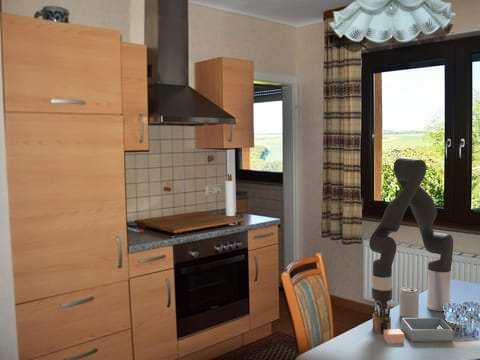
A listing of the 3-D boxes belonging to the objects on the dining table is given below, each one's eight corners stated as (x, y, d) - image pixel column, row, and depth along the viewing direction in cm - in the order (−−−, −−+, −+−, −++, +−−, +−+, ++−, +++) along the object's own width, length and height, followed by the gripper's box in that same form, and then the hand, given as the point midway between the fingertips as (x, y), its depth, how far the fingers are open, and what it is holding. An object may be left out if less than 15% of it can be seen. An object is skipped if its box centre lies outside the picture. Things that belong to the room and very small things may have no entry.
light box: (383, 338, 180) (383, 329, 180) (399, 338, 180) (399, 329, 180) (388, 343, 176) (388, 334, 175) (404, 343, 176) (404, 334, 176)
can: (419, 320, 197) (420, 292, 196) (400, 319, 198) (401, 291, 197) (416, 314, 204) (417, 286, 203) (398, 313, 205) (398, 285, 204)
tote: (401, 329, 188) (401, 317, 188) (440, 329, 188) (440, 317, 187) (411, 342, 176) (411, 330, 176) (453, 342, 176) (453, 330, 176)
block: (372, 327, 190) (372, 312, 190) (386, 327, 190) (386, 312, 190) (376, 333, 185) (376, 318, 184) (390, 333, 185) (390, 318, 184)
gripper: (397, 292, 179) (396, 336, 180) (386, 281, 193) (386, 321, 195) (377, 292, 179) (376, 336, 180) (367, 281, 193) (367, 321, 195)
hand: (381, 328), depth 187 cm, fingers open, 6 cm apart
